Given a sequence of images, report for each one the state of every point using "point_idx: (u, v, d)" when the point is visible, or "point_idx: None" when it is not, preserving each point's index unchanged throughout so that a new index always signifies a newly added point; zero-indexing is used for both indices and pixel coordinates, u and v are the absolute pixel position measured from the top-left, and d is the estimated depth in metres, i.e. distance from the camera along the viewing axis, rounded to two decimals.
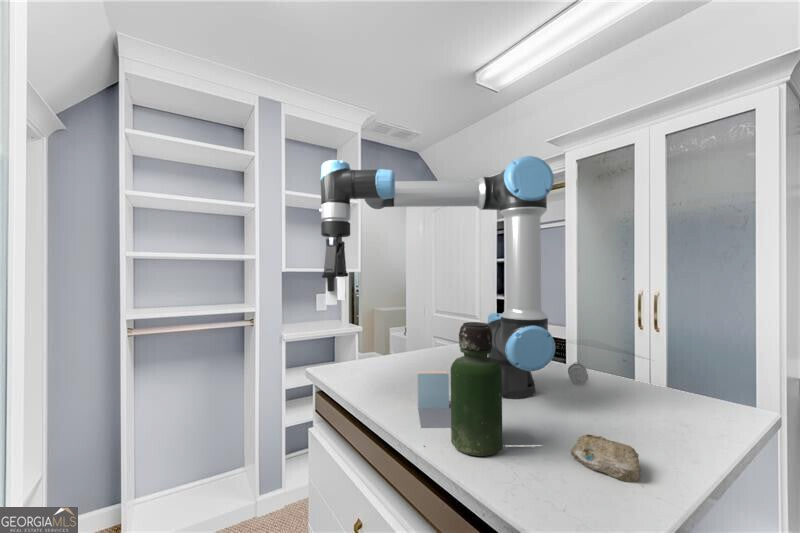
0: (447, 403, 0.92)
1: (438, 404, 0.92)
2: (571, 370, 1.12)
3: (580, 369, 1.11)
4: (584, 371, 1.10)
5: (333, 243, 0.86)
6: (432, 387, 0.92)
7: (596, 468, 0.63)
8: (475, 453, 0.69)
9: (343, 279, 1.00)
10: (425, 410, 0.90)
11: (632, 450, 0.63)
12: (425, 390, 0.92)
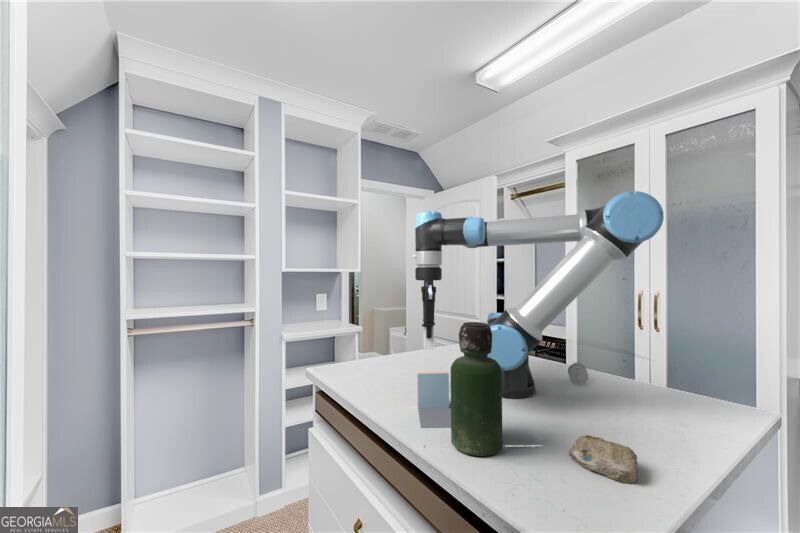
0: (447, 403, 0.92)
1: (438, 404, 0.92)
2: (571, 370, 1.12)
3: (580, 369, 1.11)
4: (584, 371, 1.10)
5: (432, 298, 0.96)
6: (432, 387, 0.92)
7: (593, 469, 0.63)
8: (475, 453, 0.69)
9: None
10: (425, 410, 0.90)
11: (630, 451, 0.63)
12: (425, 390, 0.92)
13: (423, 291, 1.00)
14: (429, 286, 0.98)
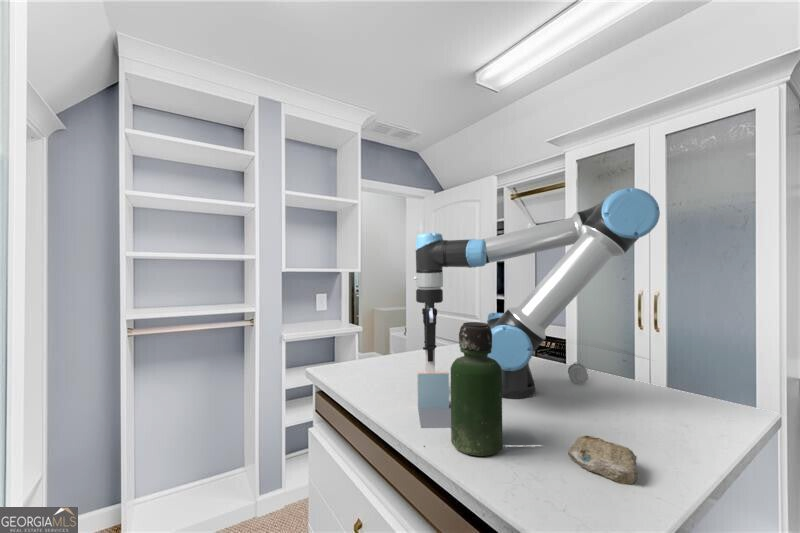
0: (447, 403, 0.92)
1: (438, 404, 0.92)
2: (571, 370, 1.12)
3: (580, 369, 1.11)
4: (584, 371, 1.10)
5: (433, 321, 0.95)
6: (432, 387, 0.92)
7: (592, 469, 0.63)
8: (475, 453, 0.69)
9: None
10: (425, 410, 0.90)
11: (629, 452, 0.63)
12: (425, 390, 0.92)
13: (424, 314, 0.98)
14: (430, 309, 0.97)
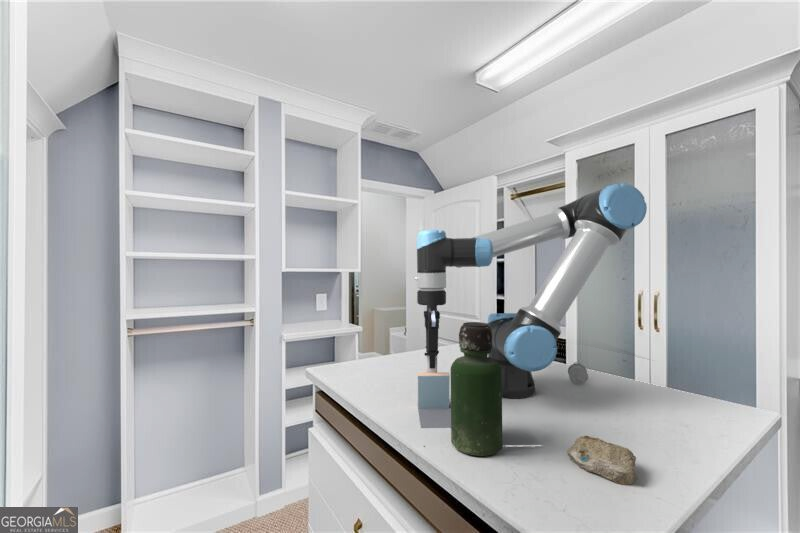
0: (447, 403, 0.92)
1: (438, 405, 0.91)
2: (571, 370, 1.12)
3: (580, 369, 1.11)
4: (584, 371, 1.10)
5: (435, 325, 0.88)
6: (432, 389, 0.91)
7: (590, 469, 0.63)
8: (475, 453, 0.69)
9: None
10: (425, 410, 0.90)
11: (628, 453, 0.63)
12: (425, 391, 0.91)
13: (426, 317, 0.91)
14: (432, 312, 0.89)
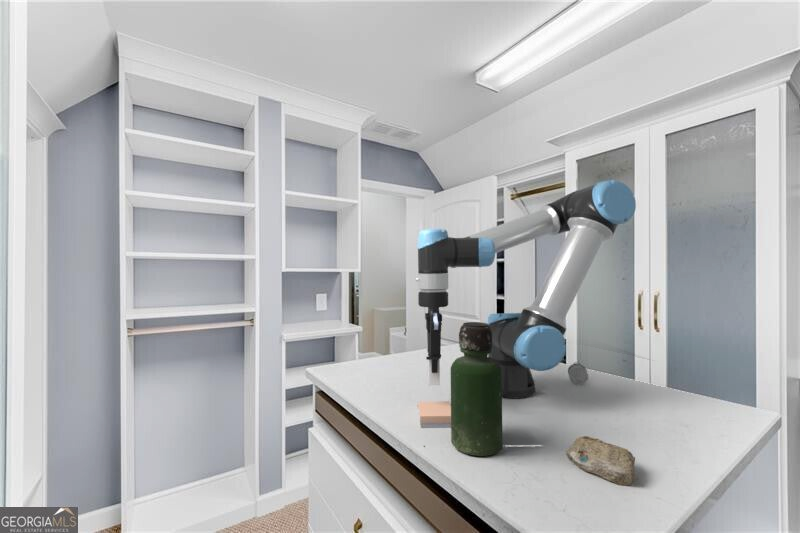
0: None
1: None
2: (571, 370, 1.12)
3: (580, 369, 1.11)
4: (584, 371, 1.10)
5: (438, 328, 0.84)
6: None
7: (589, 470, 0.63)
8: (475, 453, 0.69)
9: None
10: None
11: (628, 453, 0.62)
12: None
13: (427, 319, 0.88)
14: (434, 314, 0.86)
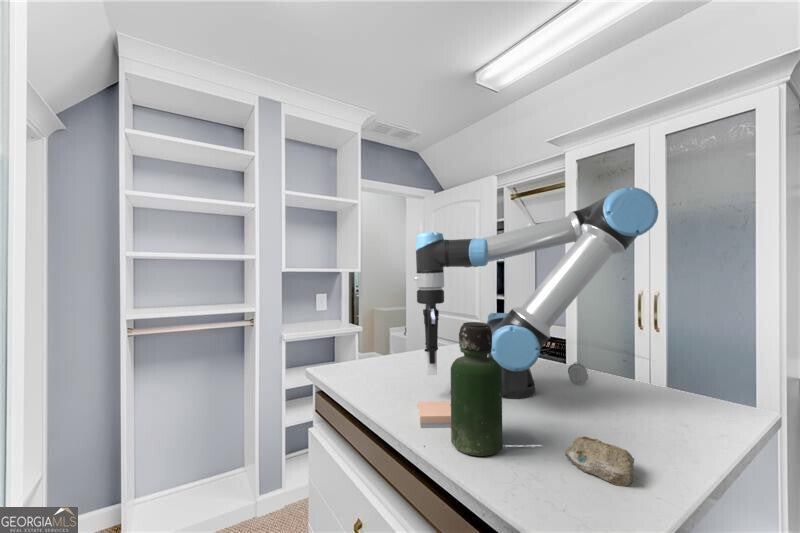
0: None
1: None
2: (571, 370, 1.12)
3: (580, 369, 1.11)
4: (584, 371, 1.10)
5: (435, 323, 0.93)
6: None
7: (587, 470, 0.63)
8: (475, 453, 0.69)
9: None
10: None
11: (626, 454, 0.62)
12: None
13: (425, 315, 0.96)
14: (432, 310, 0.95)
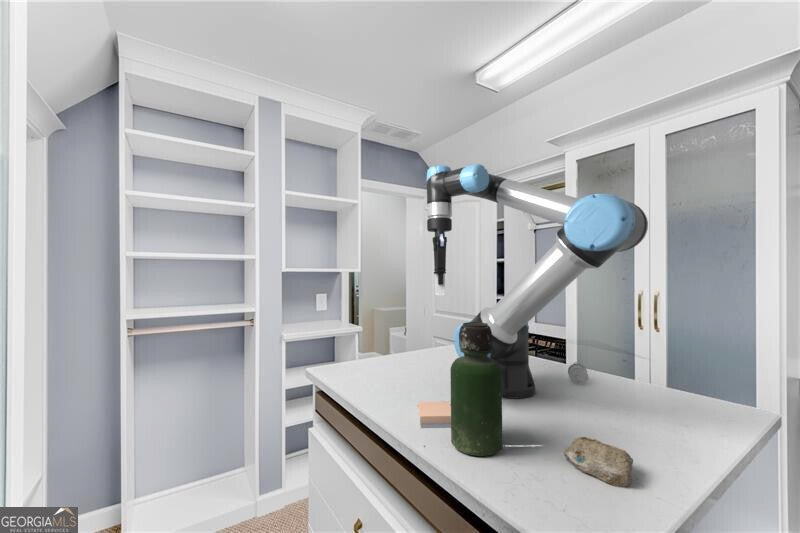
0: None
1: None
2: (571, 370, 1.12)
3: (580, 369, 1.11)
4: (584, 371, 1.10)
5: (444, 245, 1.03)
6: None
7: (585, 470, 0.62)
8: (475, 453, 0.69)
9: None
10: None
11: (625, 455, 0.62)
12: None
13: (435, 240, 1.07)
14: (440, 235, 1.05)
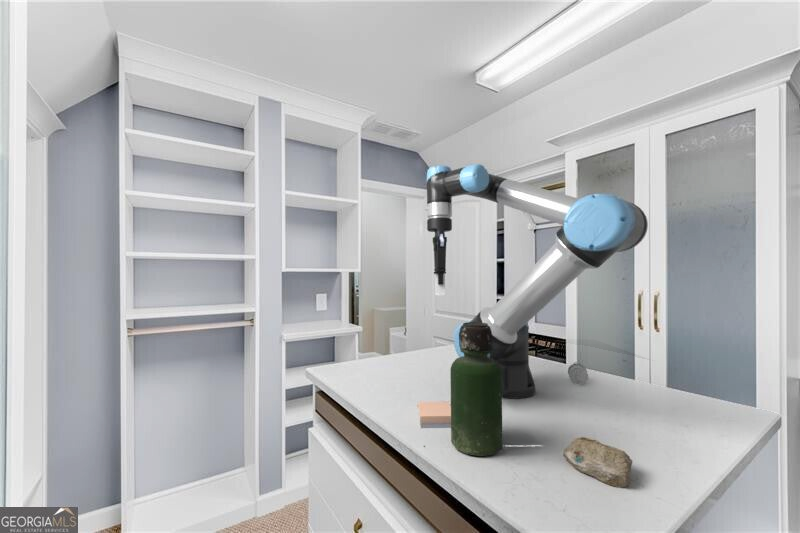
0: None
1: None
2: (571, 370, 1.12)
3: (580, 369, 1.11)
4: (584, 371, 1.10)
5: (443, 245, 1.03)
6: None
7: (584, 470, 0.62)
8: (475, 453, 0.69)
9: None
10: None
11: (624, 455, 0.62)
12: None
13: (435, 240, 1.07)
14: (440, 235, 1.05)
